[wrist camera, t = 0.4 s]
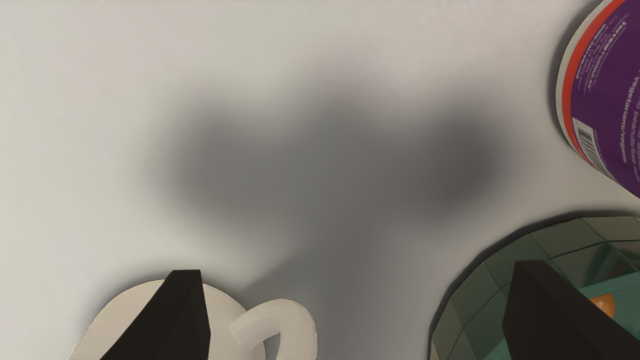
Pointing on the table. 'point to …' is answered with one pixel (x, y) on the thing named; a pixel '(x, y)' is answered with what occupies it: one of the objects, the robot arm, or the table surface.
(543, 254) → the bowl
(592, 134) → the pill bottle
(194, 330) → the robot arm
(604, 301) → the bead
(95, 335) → the mug
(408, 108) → the table surface
